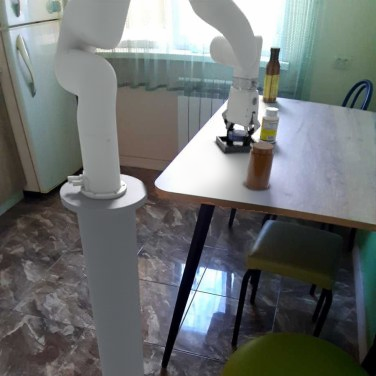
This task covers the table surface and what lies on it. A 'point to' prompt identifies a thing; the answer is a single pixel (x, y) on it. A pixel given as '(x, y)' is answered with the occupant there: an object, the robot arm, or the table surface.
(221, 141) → the slate tray
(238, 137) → the jar lid
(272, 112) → the supplement bottle
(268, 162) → the jam jar
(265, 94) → the sauce bottle
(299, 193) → the table surface
